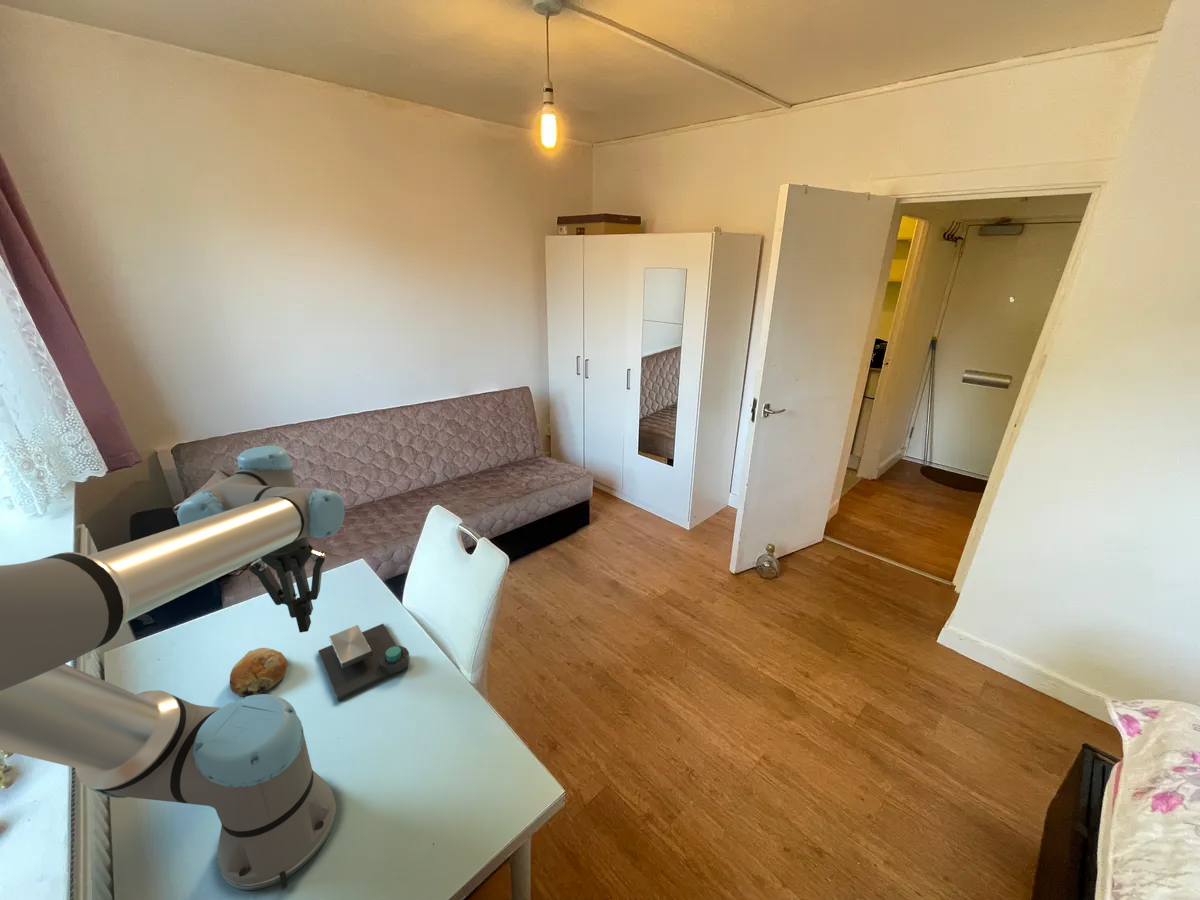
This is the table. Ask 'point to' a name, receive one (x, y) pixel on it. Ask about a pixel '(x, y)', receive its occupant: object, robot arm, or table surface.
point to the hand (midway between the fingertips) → (305, 627)
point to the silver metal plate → (350, 646)
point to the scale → (363, 664)
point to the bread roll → (257, 672)
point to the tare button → (393, 654)
